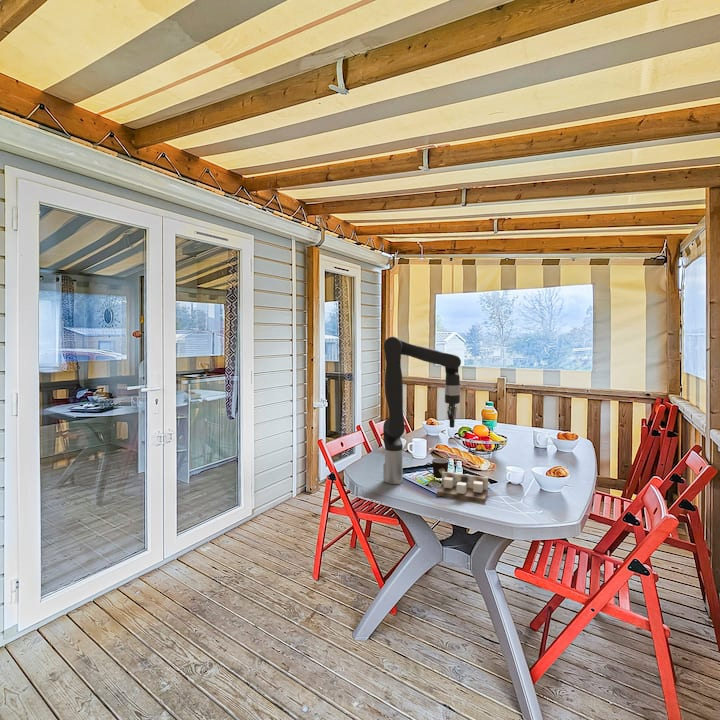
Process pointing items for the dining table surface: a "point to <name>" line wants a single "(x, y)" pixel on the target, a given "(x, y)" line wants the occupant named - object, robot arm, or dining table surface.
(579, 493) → the dining table surface
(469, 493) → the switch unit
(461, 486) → the switch middle
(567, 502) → the dining table surface
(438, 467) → the coffee mug
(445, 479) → the switch left
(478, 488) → the switch right
